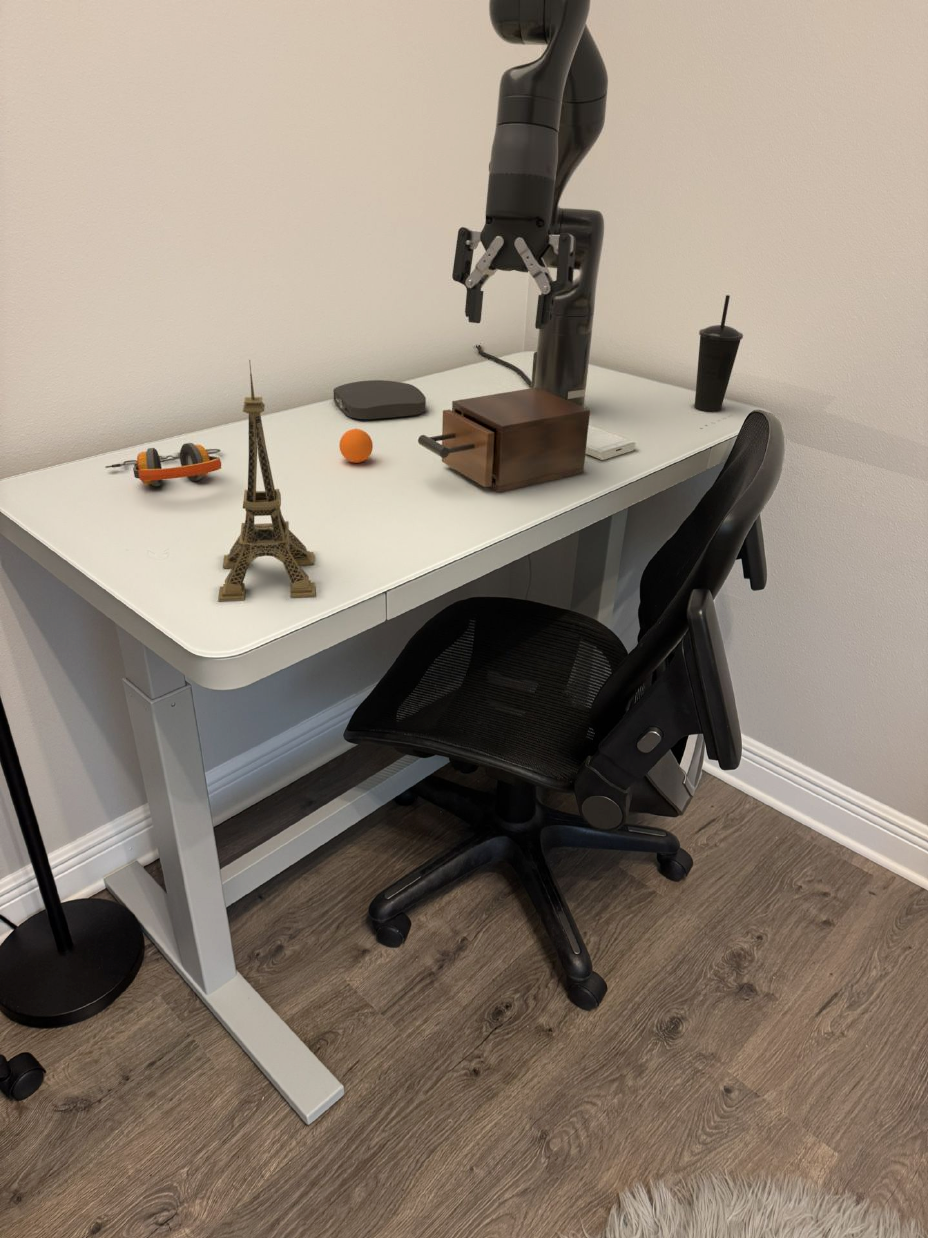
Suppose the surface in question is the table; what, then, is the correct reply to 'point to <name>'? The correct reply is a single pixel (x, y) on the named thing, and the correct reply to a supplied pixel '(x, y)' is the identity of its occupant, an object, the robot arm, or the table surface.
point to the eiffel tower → (269, 535)
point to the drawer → (466, 446)
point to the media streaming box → (379, 399)
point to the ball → (356, 445)
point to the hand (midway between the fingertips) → (506, 325)
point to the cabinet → (532, 435)
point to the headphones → (192, 466)
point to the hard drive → (606, 444)
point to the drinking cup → (715, 363)
